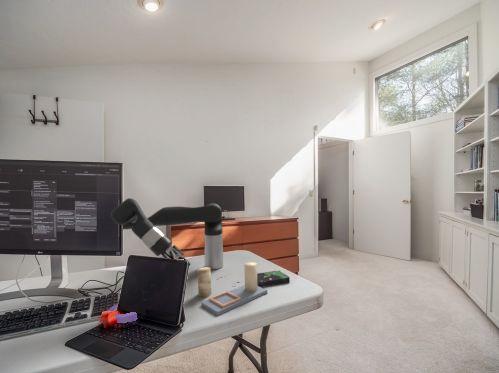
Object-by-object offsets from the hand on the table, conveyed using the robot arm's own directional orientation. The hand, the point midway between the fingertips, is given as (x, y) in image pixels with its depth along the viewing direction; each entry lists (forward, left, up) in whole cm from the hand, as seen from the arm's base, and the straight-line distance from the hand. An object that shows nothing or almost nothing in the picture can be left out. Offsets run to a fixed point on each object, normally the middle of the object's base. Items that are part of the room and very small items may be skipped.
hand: (186, 269), depth 100 cm
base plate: (+16, +12, -10) cm, 22 cm away
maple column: (+4, +6, -10) cm, 12 cm away
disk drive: (+13, +34, -11) cm, 38 cm away
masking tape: (+1, -22, -11) cm, 25 cm away
